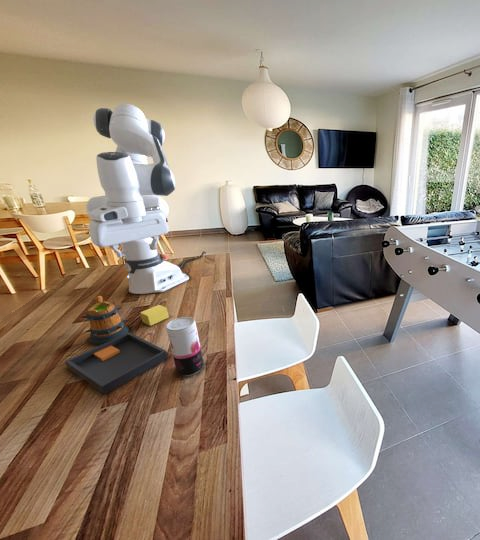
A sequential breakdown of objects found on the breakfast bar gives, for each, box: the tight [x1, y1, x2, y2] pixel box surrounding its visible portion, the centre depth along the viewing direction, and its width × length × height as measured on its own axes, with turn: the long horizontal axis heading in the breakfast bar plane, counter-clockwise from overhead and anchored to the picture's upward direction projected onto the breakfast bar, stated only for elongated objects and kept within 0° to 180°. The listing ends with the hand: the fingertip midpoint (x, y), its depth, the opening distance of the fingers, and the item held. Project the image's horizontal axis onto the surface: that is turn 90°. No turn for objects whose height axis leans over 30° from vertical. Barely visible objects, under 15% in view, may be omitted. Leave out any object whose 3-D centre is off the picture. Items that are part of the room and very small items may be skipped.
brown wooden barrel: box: [81, 295, 130, 346], centre depth 91 cm, size 13×10×12 cm
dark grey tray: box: [64, 331, 169, 395], centre depth 80 cm, size 16×19×2 cm
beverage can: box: [165, 316, 205, 377], centre depth 77 cm, size 6×6×15 cm
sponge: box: [139, 304, 170, 327], centre depth 101 cm, size 6×4×4 cm
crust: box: [93, 346, 120, 361], centre depth 83 cm, size 4×4×1 cm
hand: (138, 253), depth 92 cm, fingers open, 8 cm apart
